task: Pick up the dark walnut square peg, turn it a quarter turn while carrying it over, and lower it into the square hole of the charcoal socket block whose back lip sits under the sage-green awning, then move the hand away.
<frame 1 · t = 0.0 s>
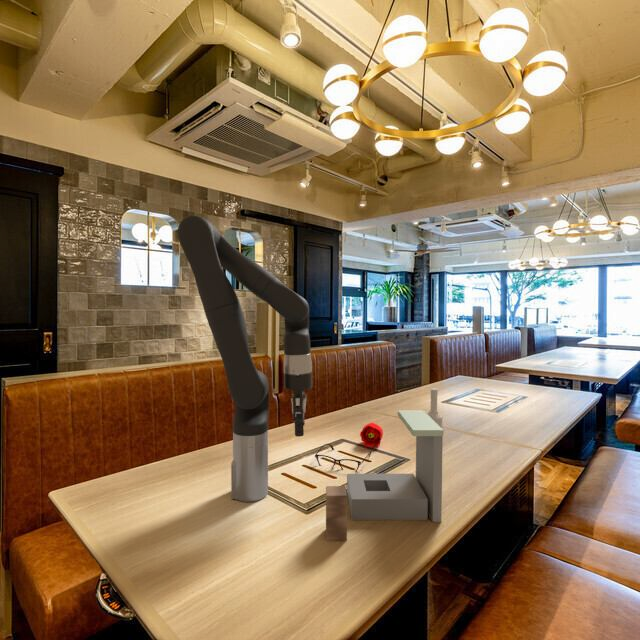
hand: (300, 430, 105), 17 cm above the table, tool pointing down, fingers open, 8 cm apart
peg: (336, 535, 87), on the table
bottle: (433, 469, 122), on the table
flower: (371, 444, 144), on the table
socket: (376, 504, 100), on the table
awning: (418, 462, 100), on the table
eyeglasses: (344, 461, 129), on the table
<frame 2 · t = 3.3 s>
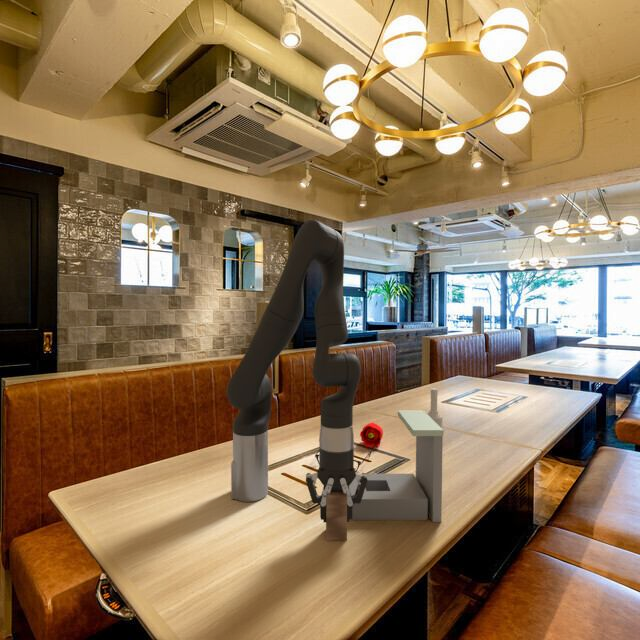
hand: (336, 520, 87), 3 cm above the table, tool pointing down, fingers closed on peg, 4 cm apart
peg: (336, 535, 87), on the table, touching gripper
everything else where it was.
when the fingers open (6 cm above the table, at t = 8.5 s): peg drops 2 cm, resting on socket.
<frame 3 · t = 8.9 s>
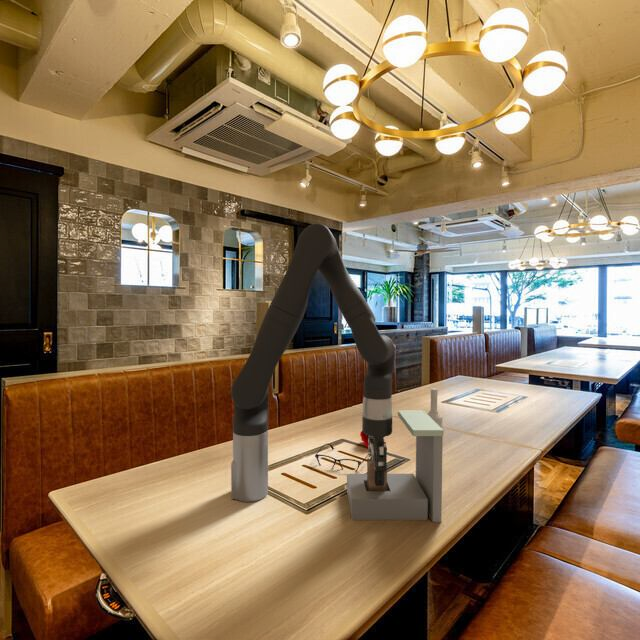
hand: (376, 477, 100), 7 cm above the table, tool pointing down, fingers open, 7 cm apart
peg: (376, 501, 100), point 1 cm above the table, touching socket
everything else where it was.
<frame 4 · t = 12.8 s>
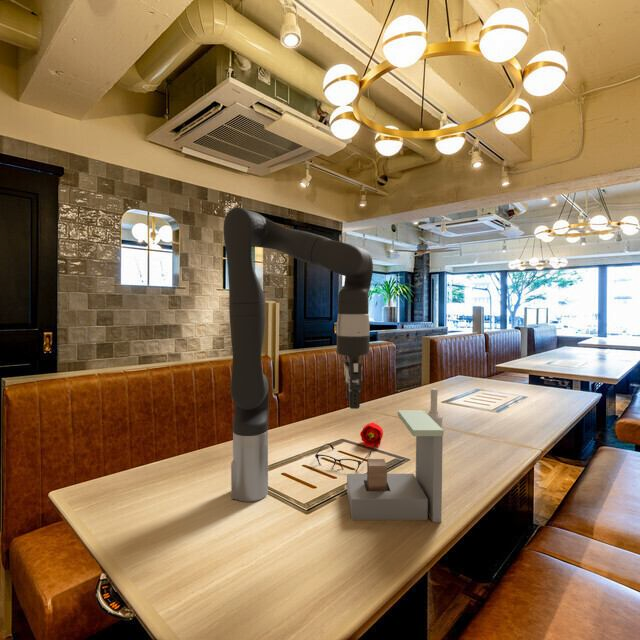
hand: (352, 403, 91), 28 cm above the table, tool pointing down, fingers open, 8 cm apart
nothing on the table moved.
at the end: peg 0.0 cm off-centre on the socket, point 1.0 cm above the socket's base; peg tilted 0°; the gripper is holding nothing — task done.
